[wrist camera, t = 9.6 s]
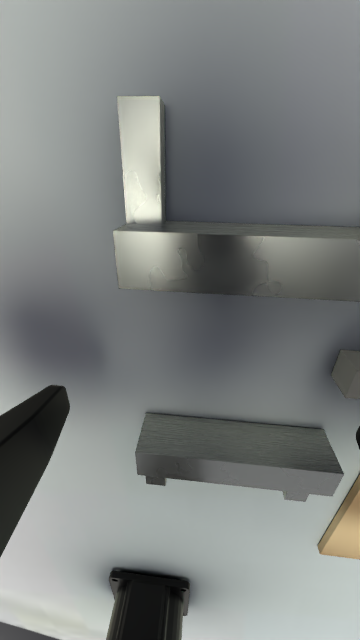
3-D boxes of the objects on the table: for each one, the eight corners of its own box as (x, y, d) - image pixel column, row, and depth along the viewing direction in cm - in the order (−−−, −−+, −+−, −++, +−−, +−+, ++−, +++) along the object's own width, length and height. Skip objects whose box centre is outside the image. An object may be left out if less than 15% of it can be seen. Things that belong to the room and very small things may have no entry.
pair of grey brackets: (300, 485, 14) (314, 530, 12) (149, 468, 14) (141, 509, 12) (459, 104, 6) (560, 73, 4) (126, 105, 7) (97, 78, 5)
